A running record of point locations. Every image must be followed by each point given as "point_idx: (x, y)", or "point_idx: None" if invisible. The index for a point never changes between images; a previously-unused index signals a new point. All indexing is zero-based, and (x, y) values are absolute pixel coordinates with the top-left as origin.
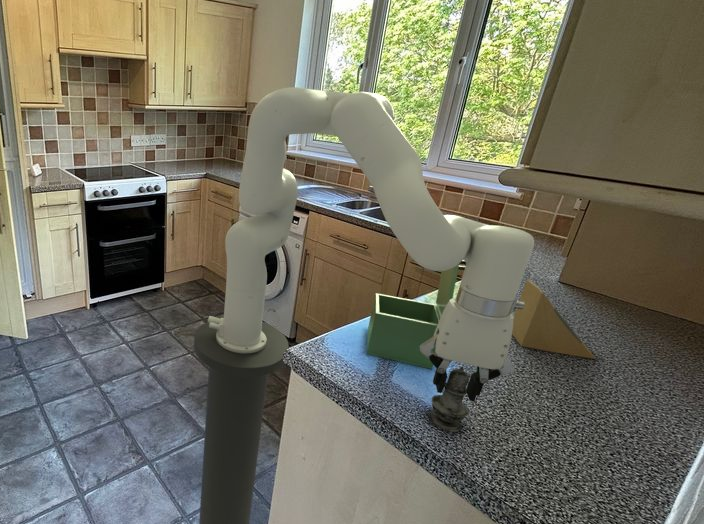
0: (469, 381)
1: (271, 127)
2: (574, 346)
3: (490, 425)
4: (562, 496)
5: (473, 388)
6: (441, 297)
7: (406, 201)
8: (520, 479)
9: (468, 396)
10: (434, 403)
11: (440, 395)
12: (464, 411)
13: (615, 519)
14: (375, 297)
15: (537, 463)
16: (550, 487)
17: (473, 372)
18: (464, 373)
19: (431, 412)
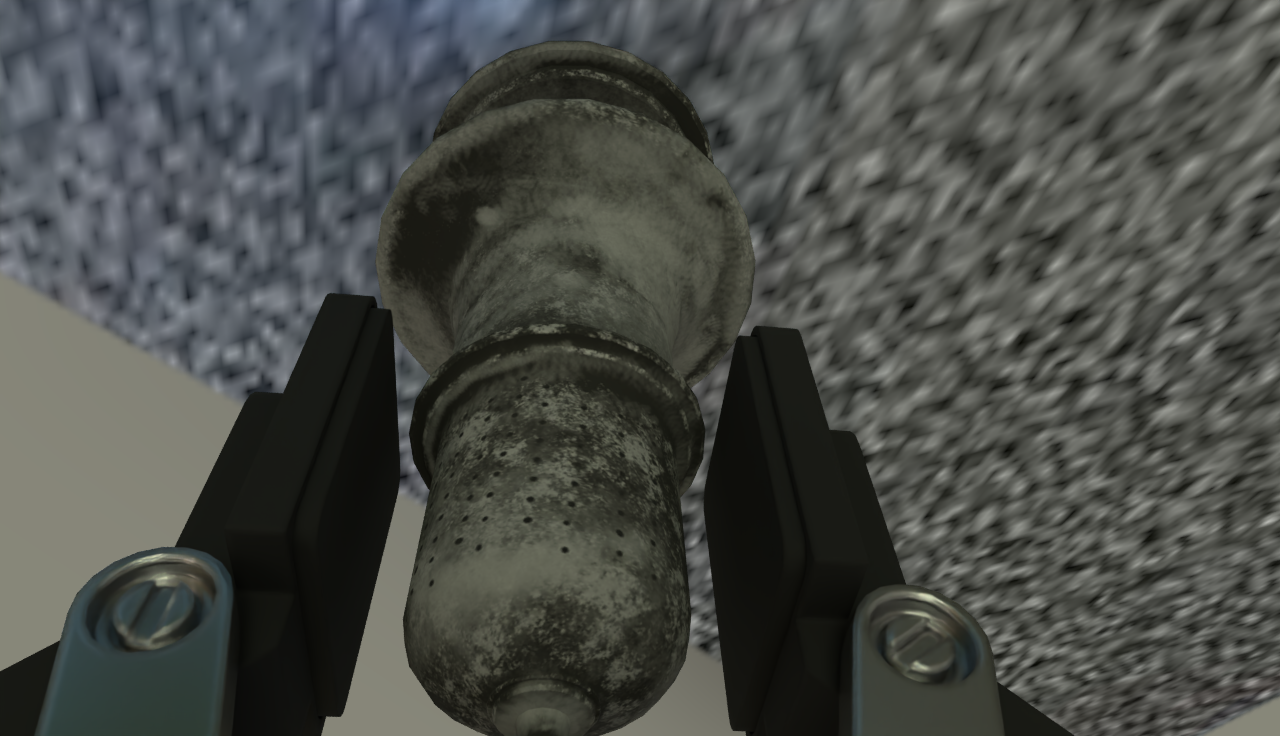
0: (756, 457)
1: None
2: None
3: (1016, 92)
4: (1082, 586)
5: (721, 650)
6: None
7: None
8: (909, 552)
9: (715, 453)
10: (400, 317)
11: (491, 139)
12: (695, 348)
13: (1254, 629)
14: None
15: (1126, 409)
16: (1059, 554)
17: (818, 562)
18: (596, 729)
19: (459, 113)
